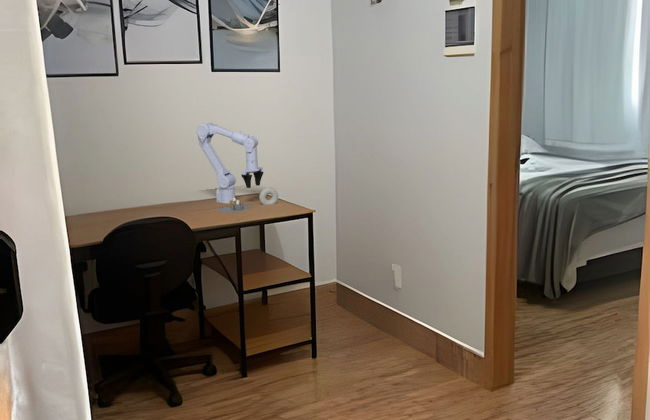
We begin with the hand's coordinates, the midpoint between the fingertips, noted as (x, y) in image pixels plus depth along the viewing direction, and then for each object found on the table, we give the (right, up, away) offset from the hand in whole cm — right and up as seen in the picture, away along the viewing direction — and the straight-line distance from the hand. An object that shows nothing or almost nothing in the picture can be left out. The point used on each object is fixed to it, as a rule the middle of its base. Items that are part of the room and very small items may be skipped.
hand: (253, 186), depth 326 cm
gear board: (-8, -13, -11) cm, 19 cm away
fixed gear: (-6, -12, -14) cm, 19 cm away
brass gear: (-8, -11, -8) cm, 16 cm away
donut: (+8, -11, -2) cm, 14 cm away
